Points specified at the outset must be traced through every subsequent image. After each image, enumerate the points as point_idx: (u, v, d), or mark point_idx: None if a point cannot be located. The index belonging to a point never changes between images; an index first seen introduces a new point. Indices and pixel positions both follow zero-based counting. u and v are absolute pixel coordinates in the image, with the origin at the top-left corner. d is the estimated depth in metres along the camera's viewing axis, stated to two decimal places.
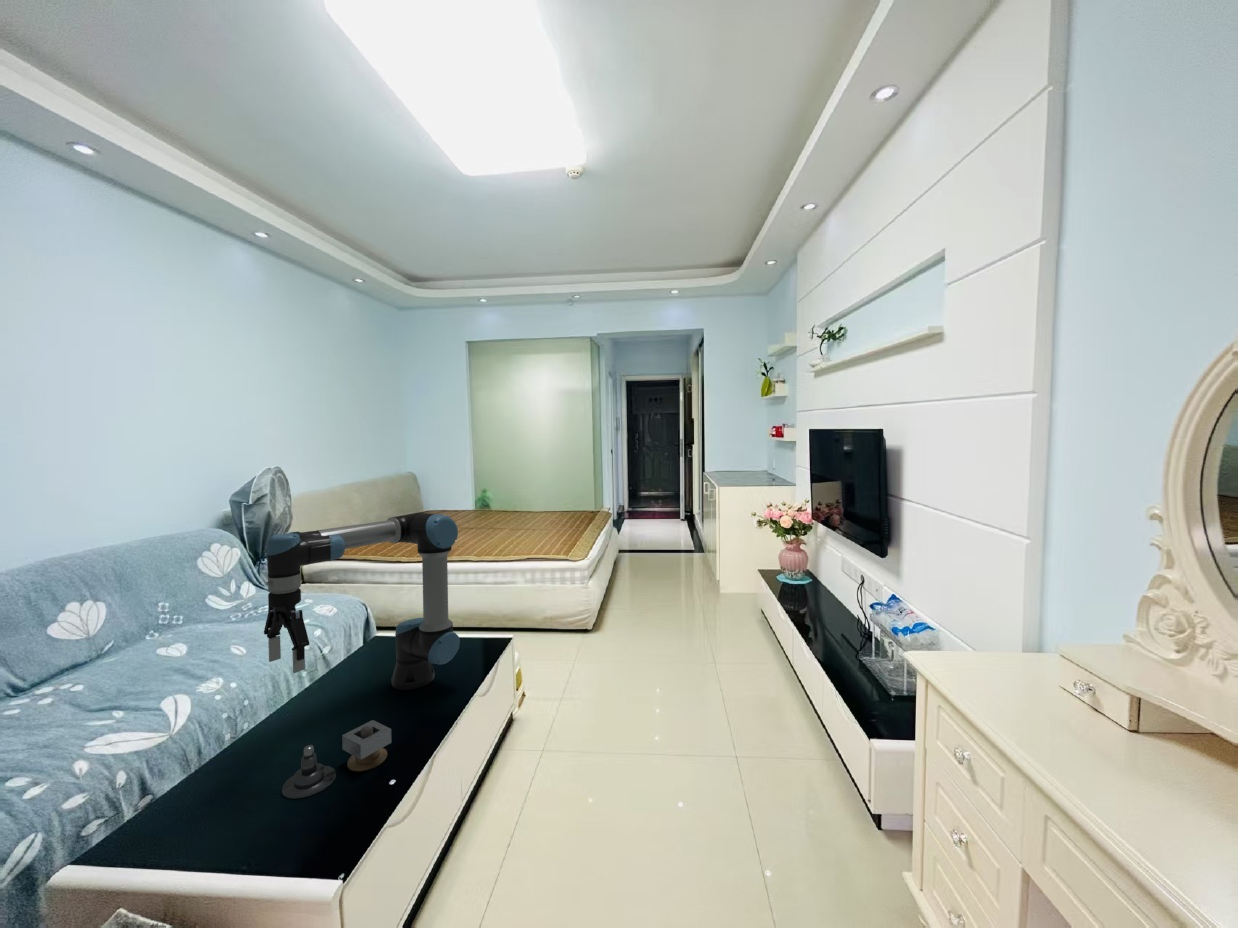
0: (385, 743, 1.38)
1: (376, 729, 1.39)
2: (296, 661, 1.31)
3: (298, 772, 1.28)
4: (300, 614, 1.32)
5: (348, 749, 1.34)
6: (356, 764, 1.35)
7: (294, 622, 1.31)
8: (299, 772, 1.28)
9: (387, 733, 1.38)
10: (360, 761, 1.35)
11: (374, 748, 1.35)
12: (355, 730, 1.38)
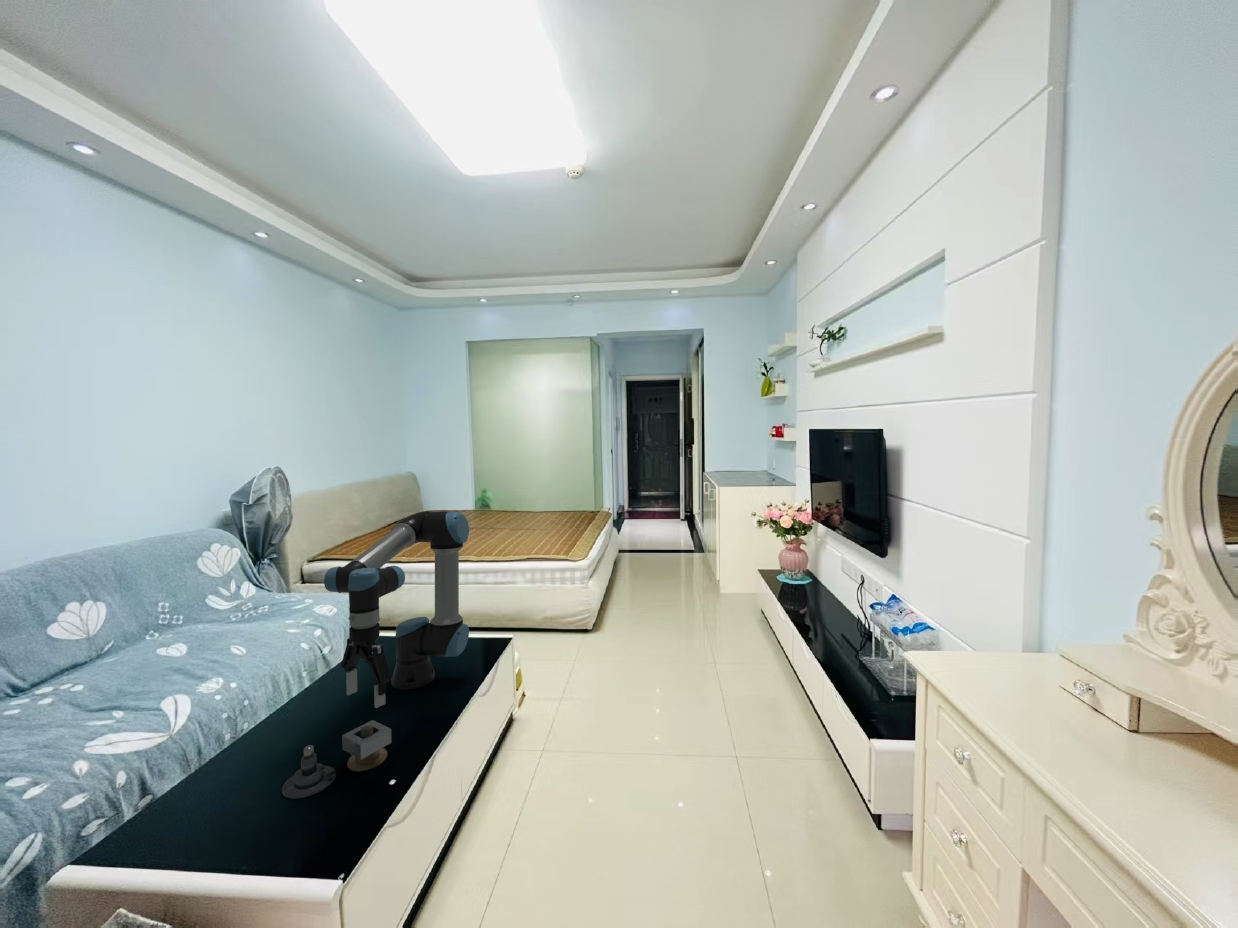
0: (385, 743, 1.38)
1: (376, 729, 1.39)
2: (378, 696, 1.32)
3: (298, 772, 1.28)
4: (381, 649, 1.34)
5: (348, 749, 1.34)
6: (356, 764, 1.35)
7: (377, 657, 1.32)
8: (299, 772, 1.28)
9: (387, 733, 1.38)
10: (360, 761, 1.35)
11: (374, 748, 1.35)
12: (355, 730, 1.38)
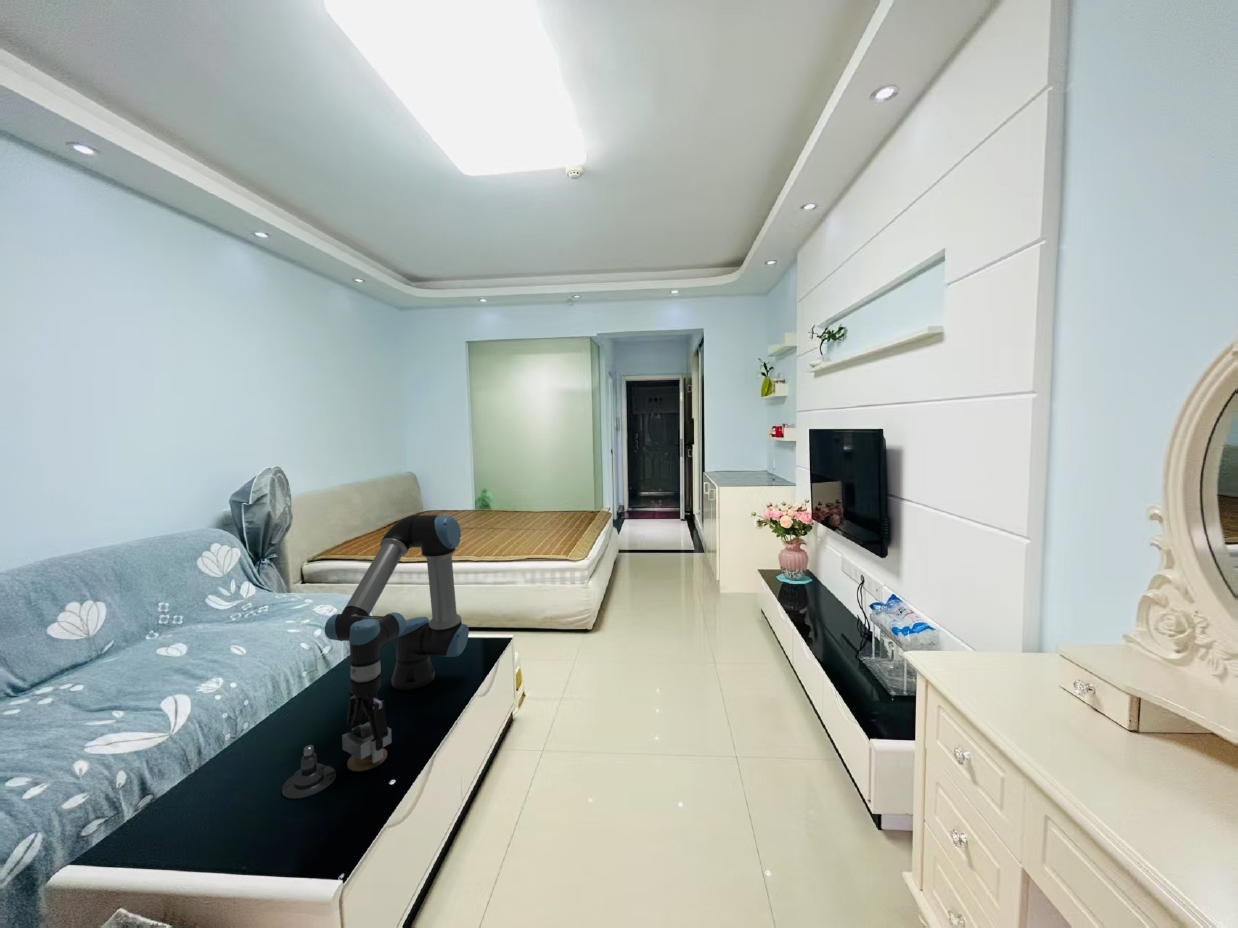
0: (385, 743, 1.38)
1: None
2: (375, 751, 1.34)
3: (298, 772, 1.28)
4: (382, 705, 1.34)
5: (348, 749, 1.34)
6: (356, 764, 1.35)
7: (377, 713, 1.33)
8: (299, 772, 1.28)
9: None
10: (360, 761, 1.35)
11: None
12: (355, 730, 1.38)
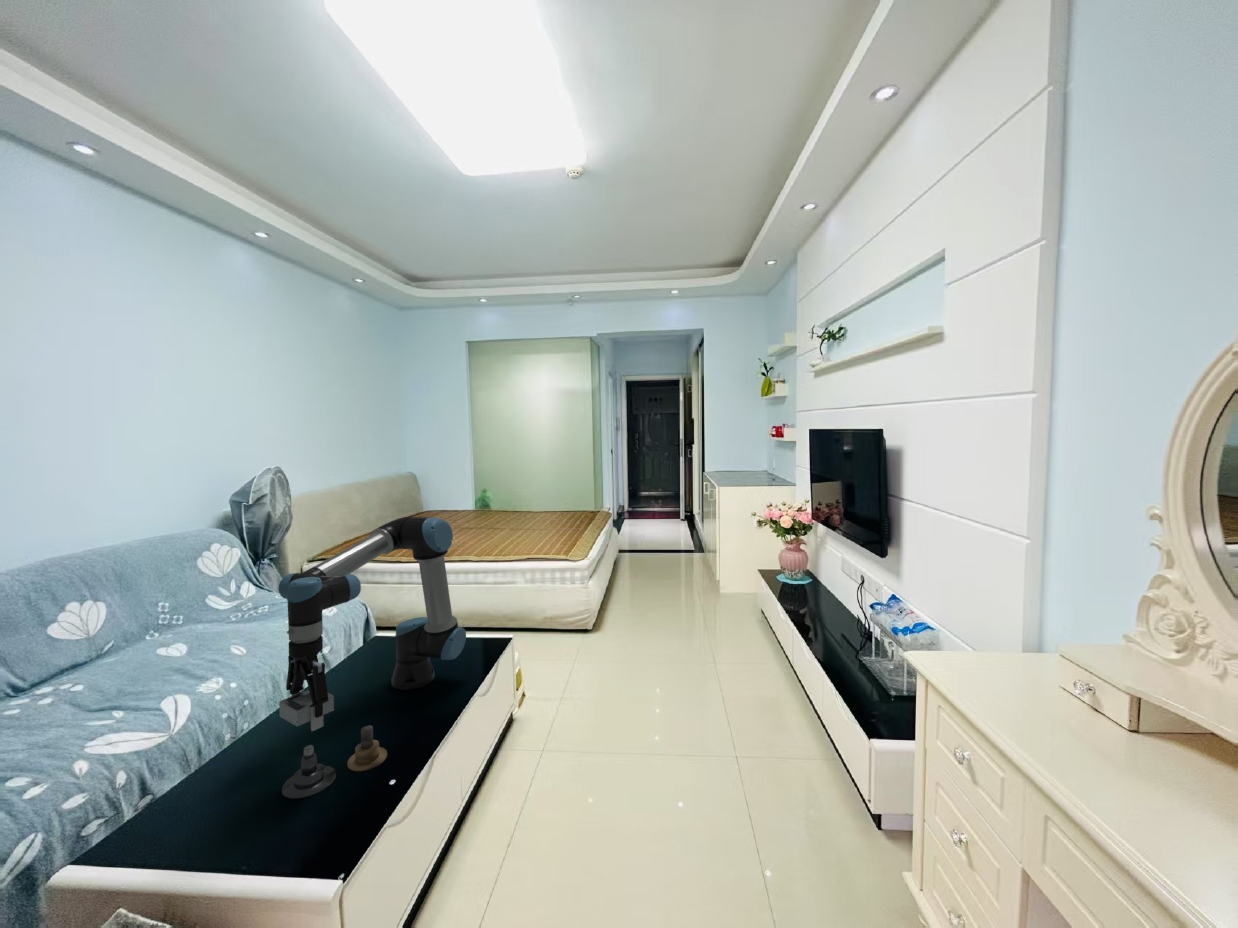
0: (326, 710, 1.27)
1: None
2: (314, 718, 1.24)
3: (298, 772, 1.28)
4: (322, 668, 1.24)
5: (285, 716, 1.24)
6: (356, 764, 1.35)
7: (316, 677, 1.23)
8: (299, 772, 1.28)
9: (329, 700, 1.28)
10: (360, 761, 1.35)
11: None
12: (294, 696, 1.28)
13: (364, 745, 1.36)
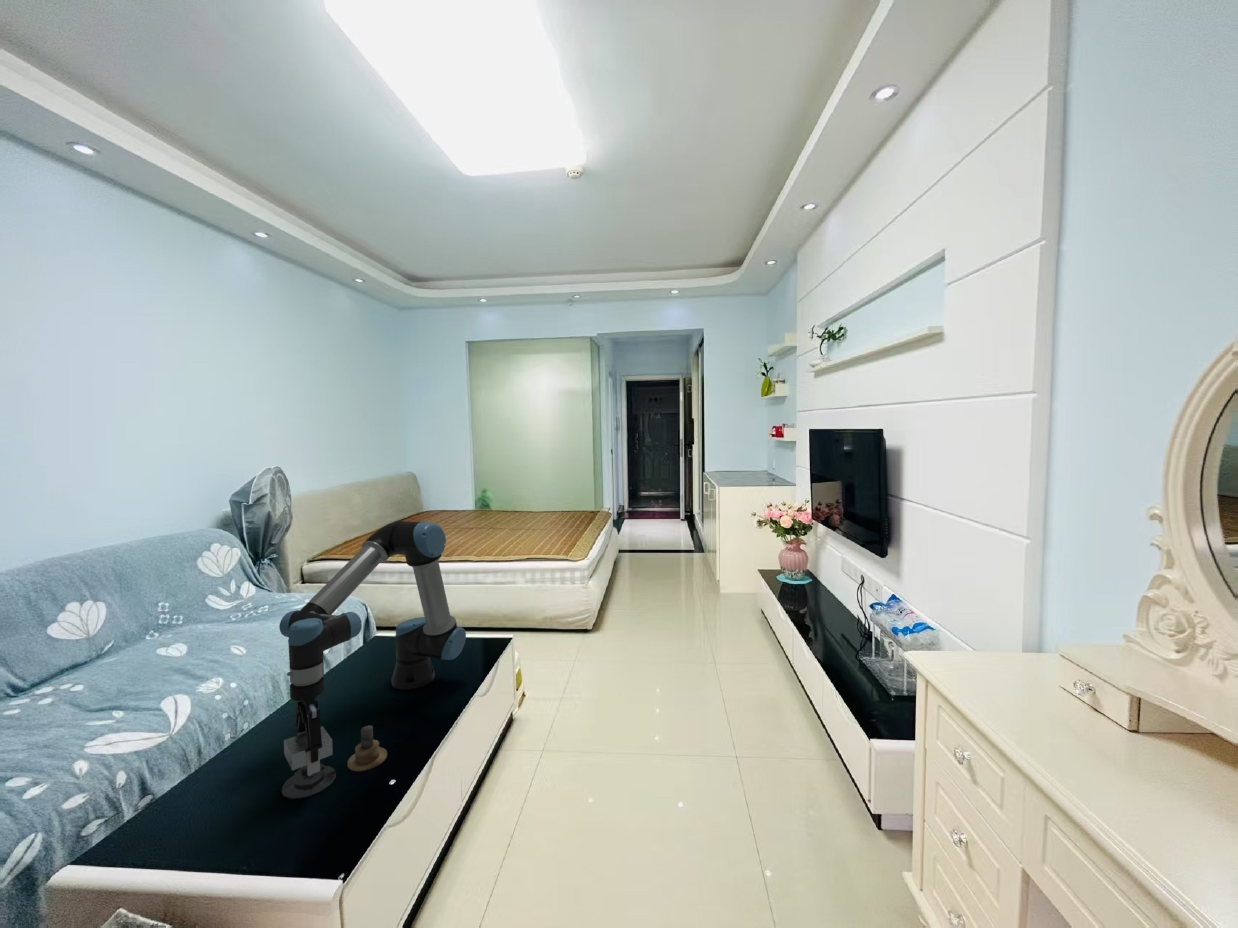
0: (324, 755, 1.27)
1: None
2: (310, 763, 1.24)
3: (298, 772, 1.28)
4: (317, 713, 1.23)
5: (286, 756, 1.26)
6: (356, 764, 1.35)
7: (310, 722, 1.22)
8: (299, 772, 1.28)
9: (327, 744, 1.27)
10: (360, 761, 1.35)
11: None
12: (299, 736, 1.29)
13: (364, 745, 1.36)
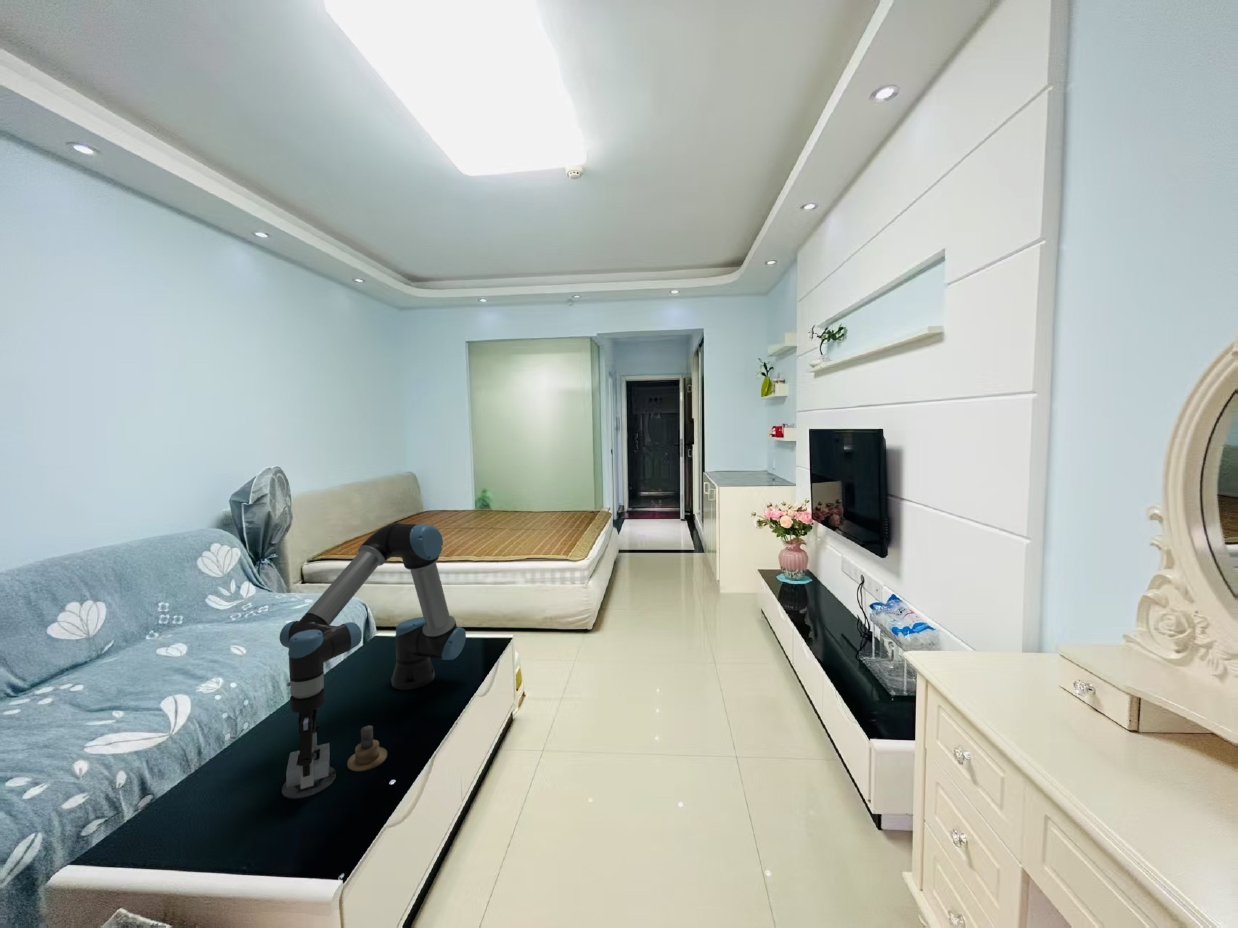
0: (319, 775, 1.26)
1: (319, 756, 1.29)
2: (303, 776, 1.22)
3: None
4: (308, 726, 1.22)
5: None
6: (356, 764, 1.35)
7: (301, 734, 1.21)
8: None
9: (322, 765, 1.26)
10: (360, 761, 1.35)
11: None
12: None
13: (364, 745, 1.36)
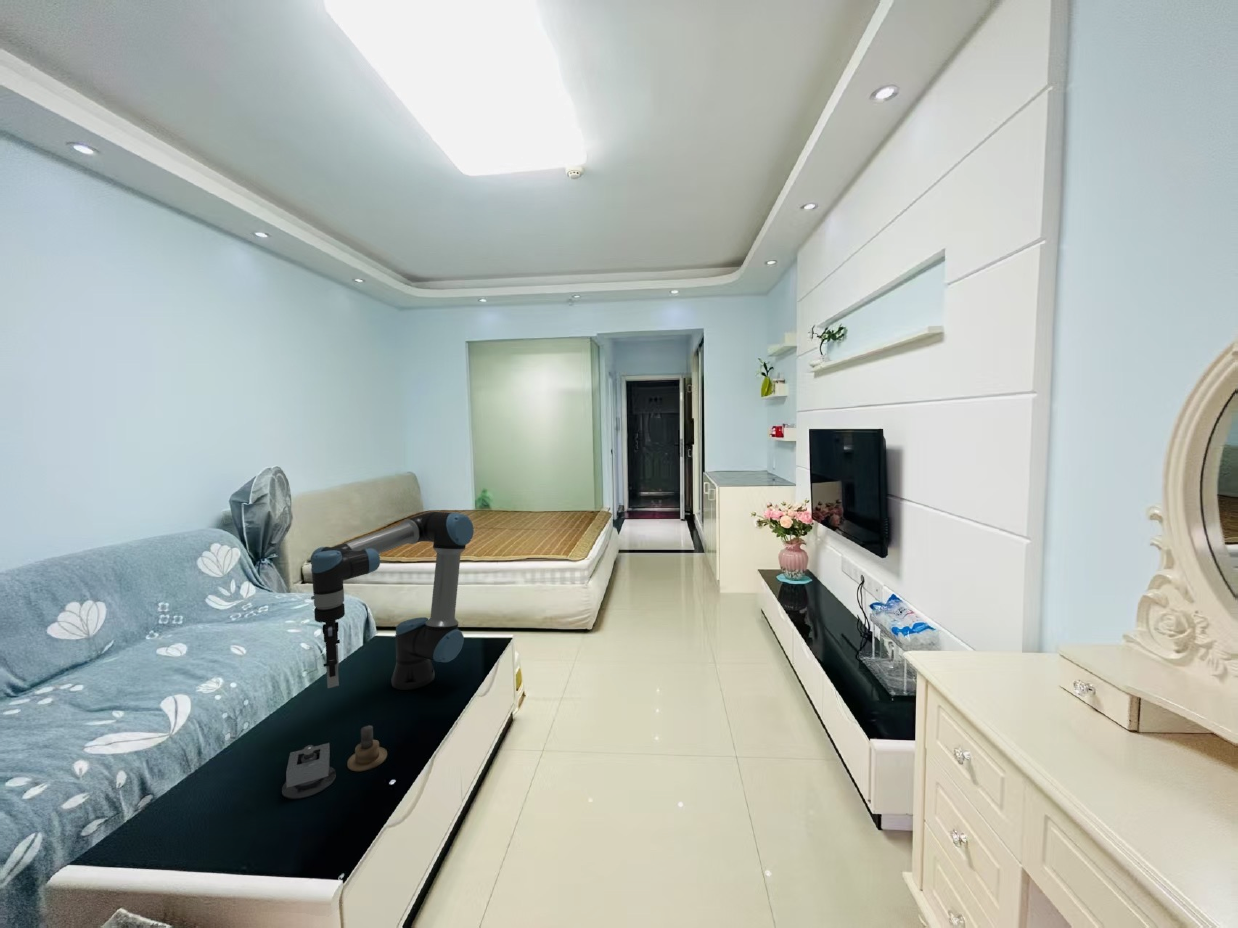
0: (319, 775, 1.26)
1: (319, 756, 1.29)
2: (329, 677, 1.35)
3: None
4: (332, 632, 1.35)
5: None
6: (356, 764, 1.35)
7: (326, 639, 1.34)
8: None
9: (322, 765, 1.26)
10: (360, 761, 1.35)
11: (304, 778, 1.24)
12: None
13: (364, 745, 1.36)
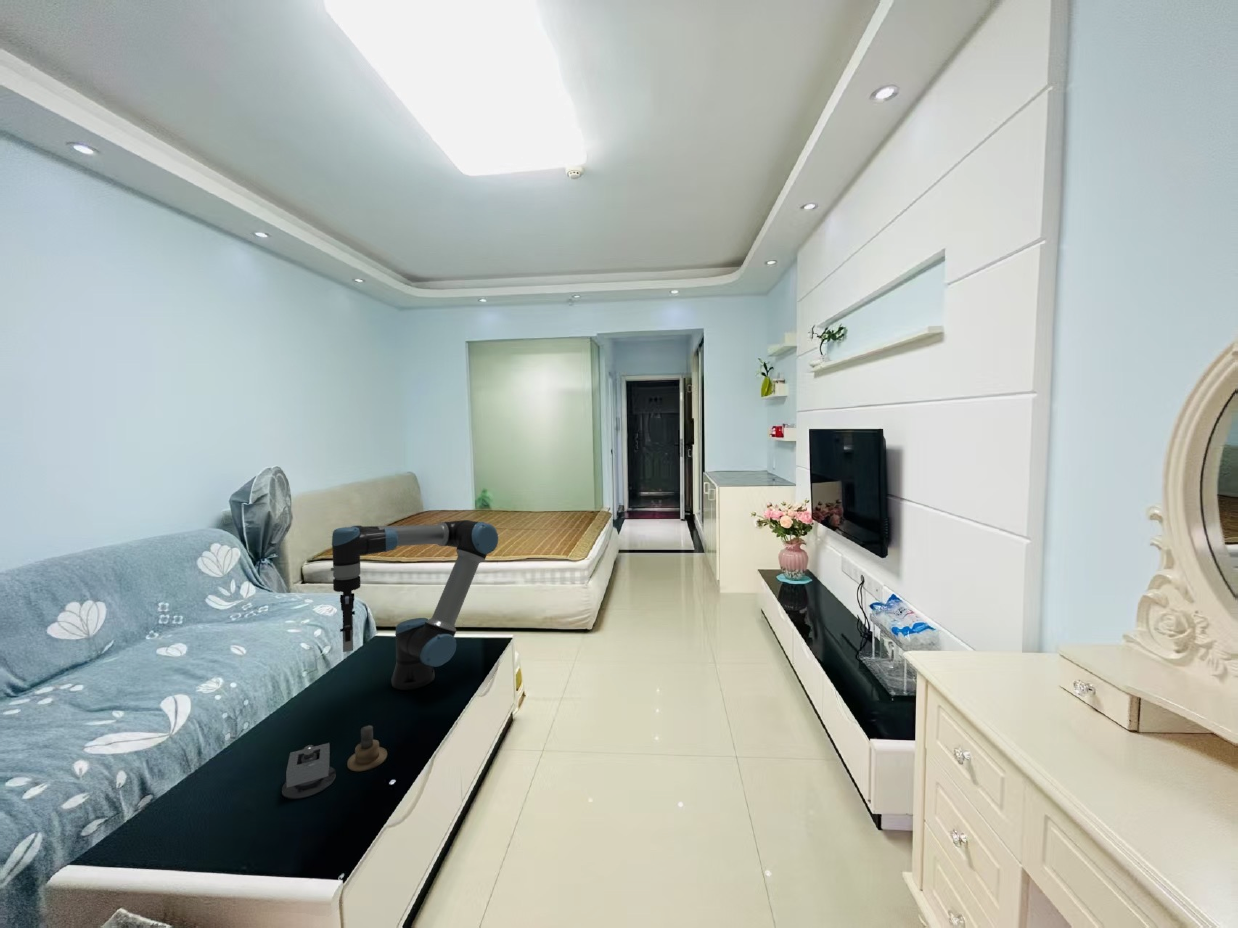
0: (319, 775, 1.26)
1: (319, 756, 1.29)
2: (345, 642, 1.47)
3: None
4: (349, 600, 1.48)
5: None
6: (356, 764, 1.35)
7: (343, 607, 1.47)
8: None
9: (322, 765, 1.26)
10: (360, 761, 1.35)
11: (304, 778, 1.24)
12: None
13: (364, 745, 1.36)
